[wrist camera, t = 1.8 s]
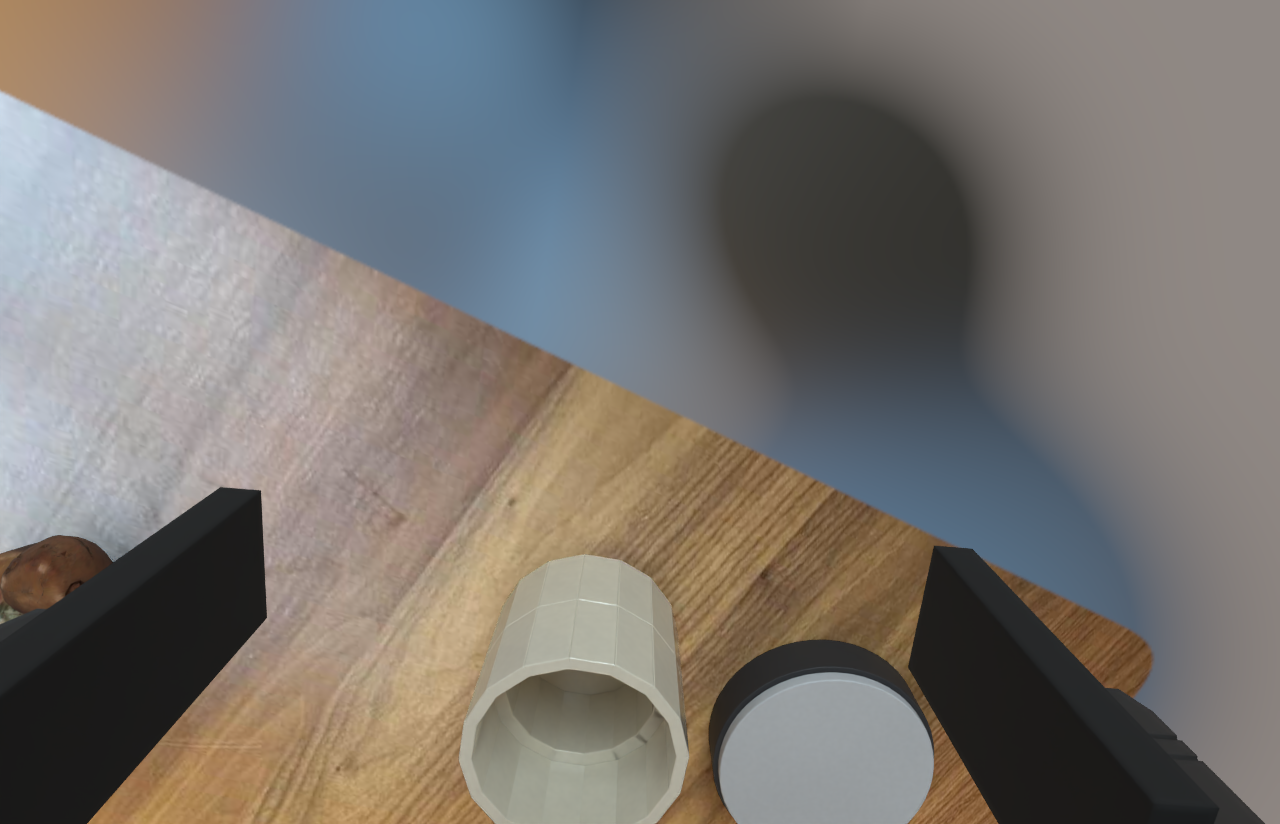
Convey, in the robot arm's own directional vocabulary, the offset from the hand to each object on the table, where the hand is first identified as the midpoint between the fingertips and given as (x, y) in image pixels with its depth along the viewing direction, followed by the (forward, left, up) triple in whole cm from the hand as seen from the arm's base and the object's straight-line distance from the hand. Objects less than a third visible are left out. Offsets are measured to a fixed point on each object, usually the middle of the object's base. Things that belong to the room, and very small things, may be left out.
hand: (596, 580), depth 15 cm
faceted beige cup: (+6, +17, -27) cm, 32 cm away
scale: (-6, +27, -27) cm, 38 cm away
